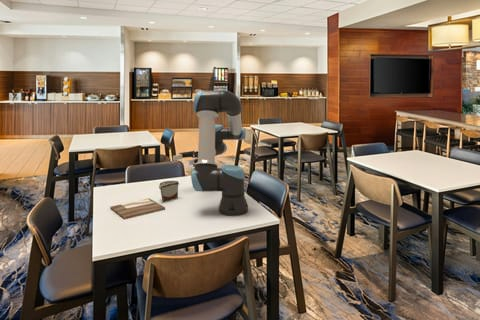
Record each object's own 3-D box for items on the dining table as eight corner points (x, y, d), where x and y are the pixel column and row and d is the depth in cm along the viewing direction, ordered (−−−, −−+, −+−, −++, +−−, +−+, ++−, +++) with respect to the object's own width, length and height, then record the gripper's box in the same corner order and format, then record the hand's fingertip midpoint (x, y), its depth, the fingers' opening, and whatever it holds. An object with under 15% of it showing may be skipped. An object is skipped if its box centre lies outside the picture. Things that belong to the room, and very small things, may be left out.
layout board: (165, 209, 189) (165, 206, 189) (124, 219, 176) (123, 216, 175) (149, 200, 204) (149, 197, 204) (110, 208, 191) (110, 206, 191)
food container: (173, 195, 212) (172, 179, 210) (179, 197, 208) (178, 181, 206) (155, 200, 204) (154, 183, 202) (161, 202, 200) (160, 185, 198)
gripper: (222, 161, 218) (196, 170, 202) (193, 155, 233) (167, 163, 217) (221, 149, 216) (196, 157, 200) (192, 143, 231) (166, 151, 215)
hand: (181, 160), depth 208 cm, fingers open, 13 cm apart
